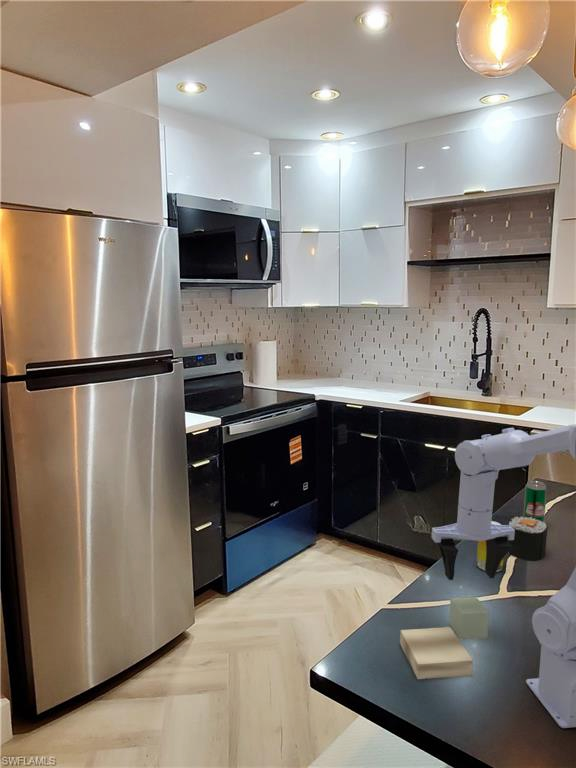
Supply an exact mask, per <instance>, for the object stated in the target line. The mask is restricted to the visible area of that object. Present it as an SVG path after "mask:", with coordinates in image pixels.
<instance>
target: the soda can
mask: <svg viewBox="0 0 576 768" xmlns="http://www.w3.org/2000/svg"><path fill="white" fill-rule="evenodd" d="M524 487H525V488H524V489H525V490H524V501H523V504H524V505H523V516H522V517H523V518H525V517H526V518H530V517H532V519H533V518H535V520H538V521H542V523H543V522H544V523H545V516H546V514H545V512H546V501H547V486H546V484H545V483H544V482H542V481H540V480H539V481H538V480H528V481H527V483H526V484H525V486H524Z"/></svg>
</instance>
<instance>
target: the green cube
mask: <svg viewBox="0 0 576 768" xmlns="http://www.w3.org/2000/svg"><path fill="white" fill-rule="evenodd" d="M489 617H490V612H489V611H488V609H487V608H486V607H485V606H484V604H483V603H482V602H481V601H480V599H479V598H477V596H474V597H472V596H471V597H454V598H453V597H452V598H450V600H449V617H448V618H449V621H448V624H449V625H450V627H451V629H452V630H453V632H454V633H455V635H456V636H457V638H458V639H459V641H460V640H461V639H462V640H475V639H488V636H489V635H488V633H489Z"/></svg>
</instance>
